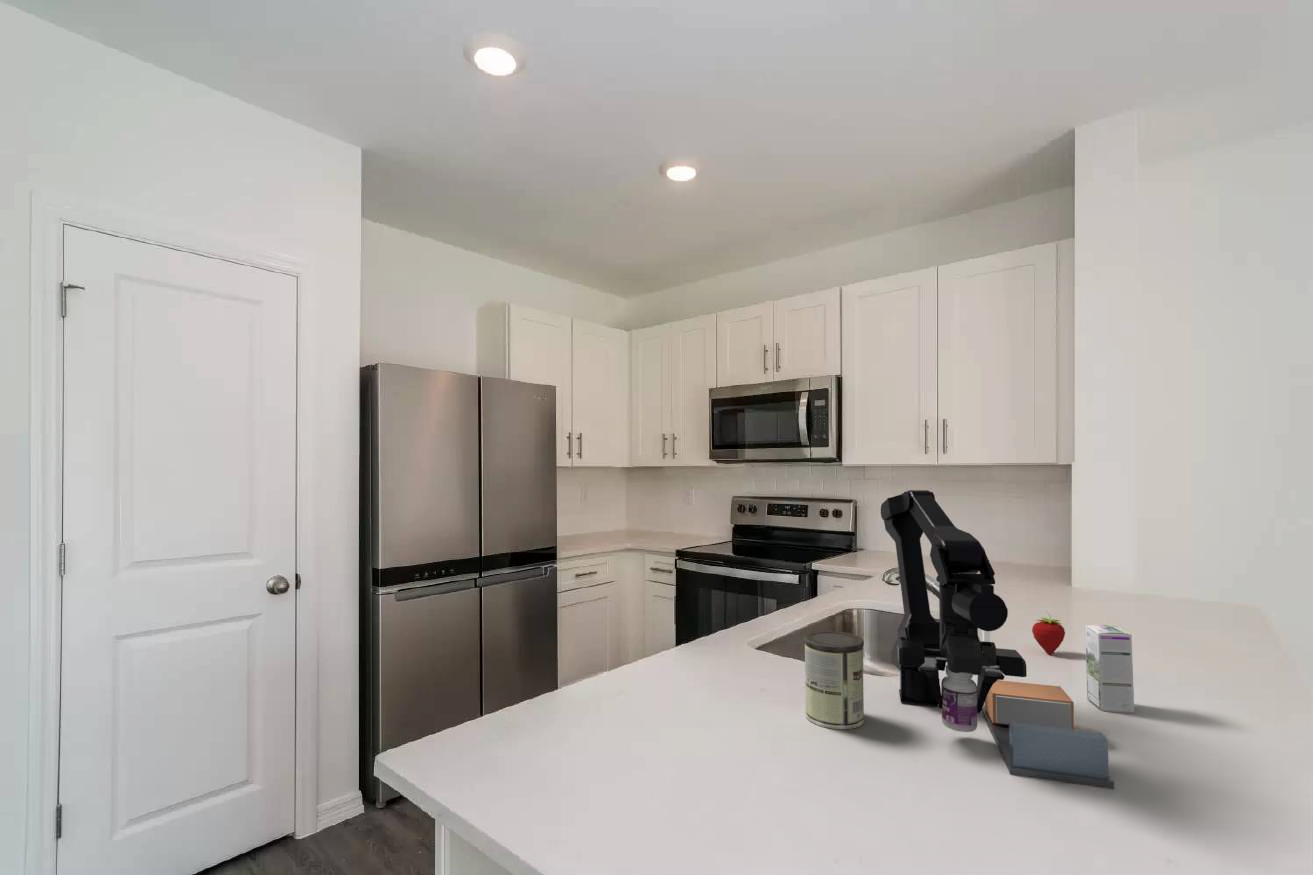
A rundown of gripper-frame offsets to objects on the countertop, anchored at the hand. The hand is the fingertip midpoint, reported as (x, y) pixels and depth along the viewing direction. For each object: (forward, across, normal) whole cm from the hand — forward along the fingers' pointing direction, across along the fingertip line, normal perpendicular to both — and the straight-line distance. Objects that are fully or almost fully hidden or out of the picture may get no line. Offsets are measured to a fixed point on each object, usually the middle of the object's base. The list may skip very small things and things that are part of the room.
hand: (959, 710), depth 105 cm
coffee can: (+5, -20, +3) cm, 21 cm away
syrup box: (+5, +29, +25) cm, 39 cm away
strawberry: (+5, +27, +58) cm, 64 cm away
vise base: (+5, +12, +2) cm, 13 cm away
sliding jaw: (+4, +12, +10) cm, 16 cm away
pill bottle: (+3, 0, 0) cm, 3 cm away
